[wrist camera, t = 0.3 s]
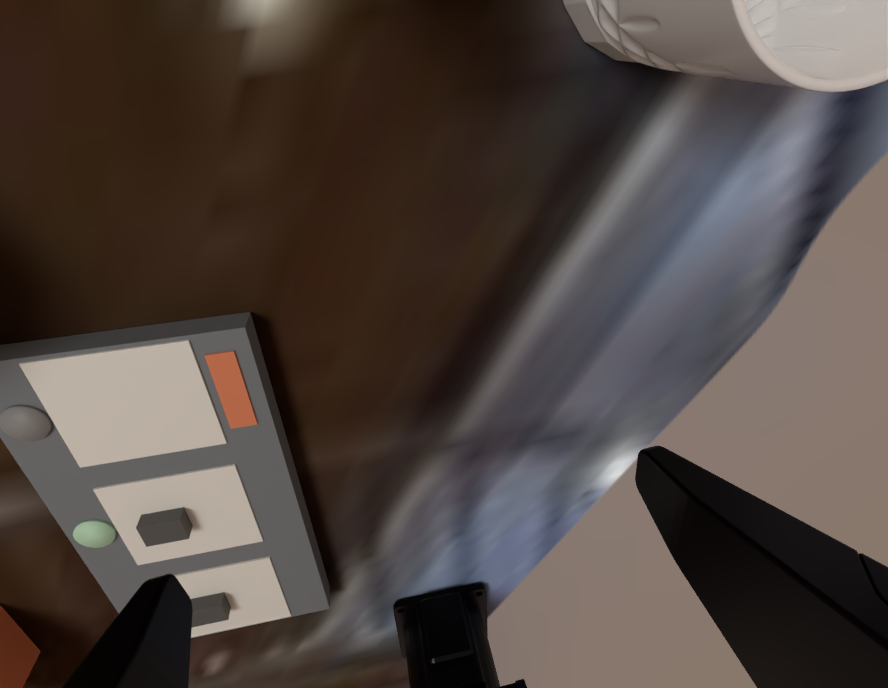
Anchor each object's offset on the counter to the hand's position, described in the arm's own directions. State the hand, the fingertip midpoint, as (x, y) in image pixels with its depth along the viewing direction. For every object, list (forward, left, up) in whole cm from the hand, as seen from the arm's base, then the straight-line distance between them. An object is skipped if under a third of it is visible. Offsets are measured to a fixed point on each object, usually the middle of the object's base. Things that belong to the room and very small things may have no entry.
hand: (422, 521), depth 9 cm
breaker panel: (-12, +11, -15) cm, 22 cm away
